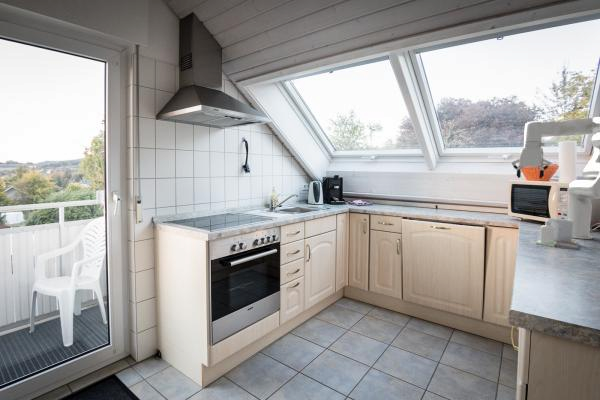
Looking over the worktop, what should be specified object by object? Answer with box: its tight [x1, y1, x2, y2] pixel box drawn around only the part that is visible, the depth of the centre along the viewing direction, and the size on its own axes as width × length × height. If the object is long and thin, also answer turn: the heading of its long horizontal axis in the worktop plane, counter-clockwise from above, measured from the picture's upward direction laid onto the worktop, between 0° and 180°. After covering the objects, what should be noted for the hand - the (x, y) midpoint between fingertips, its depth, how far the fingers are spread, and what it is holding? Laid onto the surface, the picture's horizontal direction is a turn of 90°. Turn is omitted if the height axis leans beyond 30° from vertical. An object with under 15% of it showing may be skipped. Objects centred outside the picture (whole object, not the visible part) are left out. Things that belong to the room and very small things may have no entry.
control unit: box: [550, 217, 577, 245], centre depth 165 cm, size 7×12×12 cm, turn 45°
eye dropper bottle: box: [539, 217, 555, 243], centre depth 160 cm, size 4×6×12 cm
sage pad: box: [536, 239, 557, 247], centre depth 161 cm, size 7×7×1 cm
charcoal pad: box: [556, 243, 578, 250], centre depth 155 cm, size 7×7×1 cm
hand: (529, 177), depth 174 cm, fingers open, 9 cm apart
